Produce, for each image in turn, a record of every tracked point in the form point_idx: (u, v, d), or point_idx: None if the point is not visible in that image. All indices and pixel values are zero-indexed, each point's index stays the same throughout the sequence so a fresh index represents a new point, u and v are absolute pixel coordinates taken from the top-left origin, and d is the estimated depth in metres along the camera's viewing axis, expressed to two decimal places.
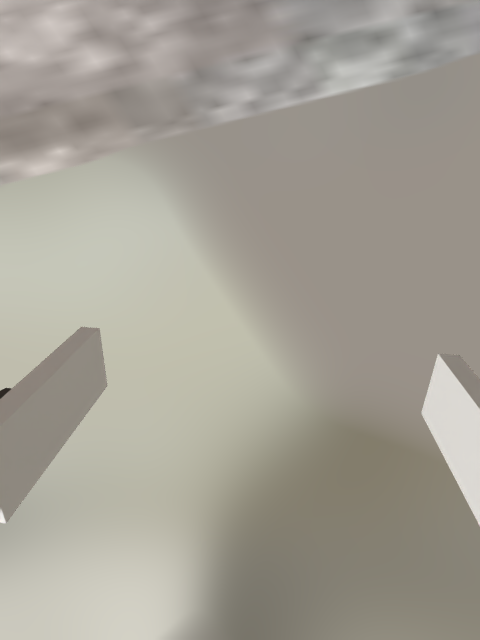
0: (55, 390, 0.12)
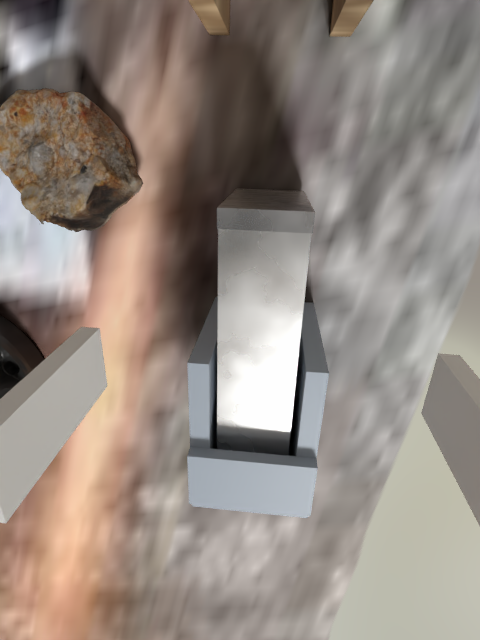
0: (55, 390, 0.12)
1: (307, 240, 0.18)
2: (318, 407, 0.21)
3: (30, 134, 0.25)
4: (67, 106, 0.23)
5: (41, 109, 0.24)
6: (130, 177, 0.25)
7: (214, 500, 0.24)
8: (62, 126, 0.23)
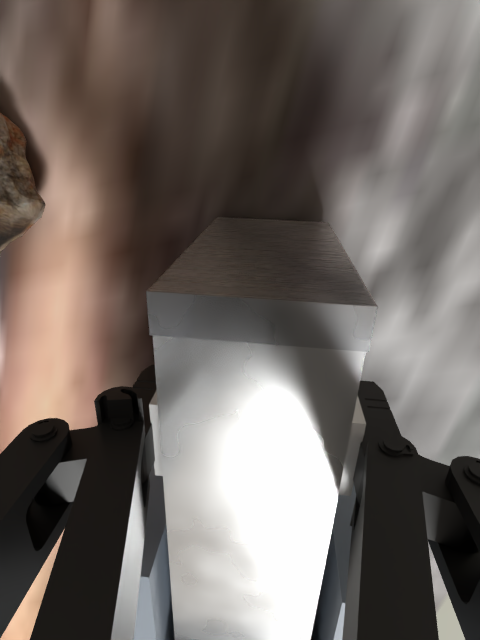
0: None
1: (355, 364, 0.08)
2: None
3: None
4: None
5: None
6: (17, 195, 0.15)
7: None
8: None
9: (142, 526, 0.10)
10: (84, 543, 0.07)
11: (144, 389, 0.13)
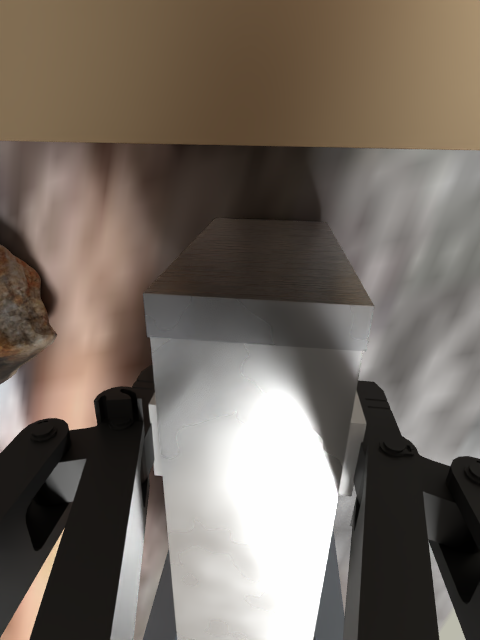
0: None
1: (352, 364, 0.08)
2: None
3: None
4: None
5: None
6: (34, 334, 0.17)
7: None
8: None
9: (141, 526, 0.10)
10: (83, 543, 0.07)
11: (144, 389, 0.13)
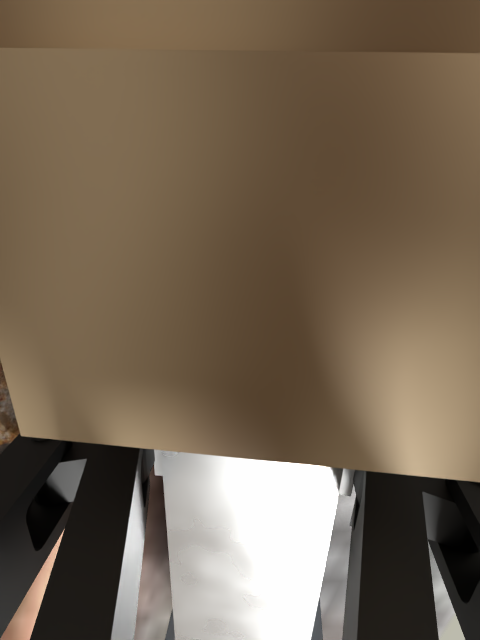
0: None
1: None
2: None
3: None
4: None
5: None
6: None
7: None
8: None
9: (142, 526, 0.10)
10: (84, 543, 0.07)
11: None
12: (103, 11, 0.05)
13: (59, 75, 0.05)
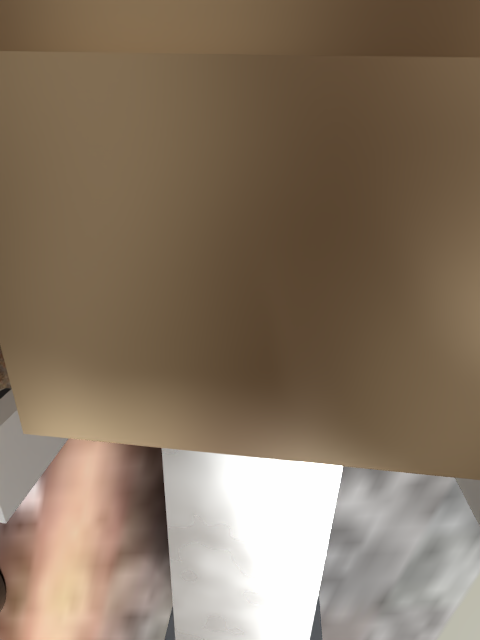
0: None
1: None
2: None
3: None
4: None
5: None
6: None
7: None
8: None
9: None
10: None
11: None
12: (106, 15, 0.05)
13: (63, 78, 0.05)
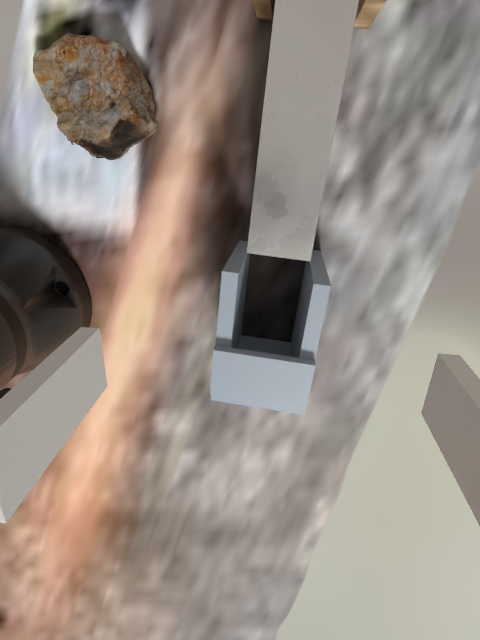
0: (55, 390, 0.12)
1: None
2: (320, 315, 0.27)
3: (73, 70, 0.30)
4: (108, 51, 0.29)
5: (86, 51, 0.30)
6: (149, 118, 0.31)
7: (230, 391, 0.30)
8: (101, 67, 0.29)
9: None
10: None
11: None
12: None
13: None
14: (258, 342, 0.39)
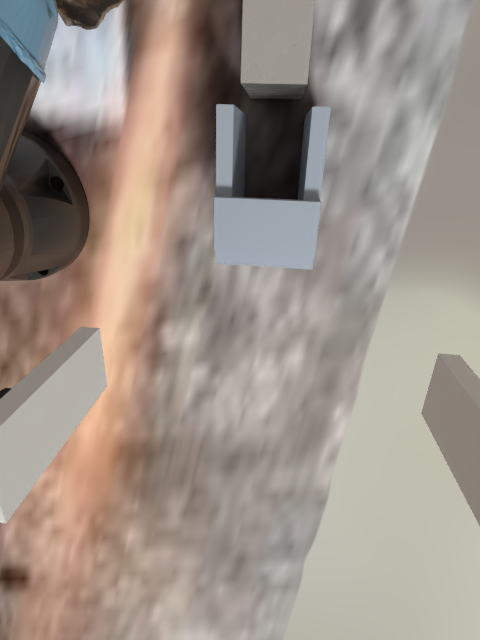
0: (55, 390, 0.12)
1: None
2: (322, 144, 0.26)
3: None
4: None
5: None
6: None
7: (235, 245, 0.29)
8: None
9: None
10: None
11: None
12: None
13: None
14: None
